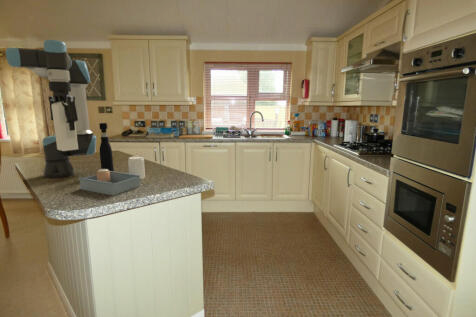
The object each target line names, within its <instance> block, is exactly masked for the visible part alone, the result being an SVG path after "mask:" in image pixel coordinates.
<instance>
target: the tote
mask: <svg viewBox="0 0 476 317" xmlns="http://www.w3.org/2000/svg"><path fill="white" fill-rule="evenodd" d="M139 177H140V175H135V174H129V172H128V173H126V172H120V171H115V170H114V171H110V182H111V183H110V182H104V181H98V180H97V175H96V174H94V175H90V176H86V177H78V180H79V187H80V188H79V190H82V191H88V192H93V193H98V194H102V195H108V196H113V197H114V196H116V195H119V194H122V193H125V192H127V191H131V190H133V189H136V188H138V187H141V182H140V180H141V179H140V178H139Z"/></svg>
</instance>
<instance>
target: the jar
mask: <svg viewBox="0 0 476 317" xmlns="http://www.w3.org/2000/svg"><path fill="white" fill-rule="evenodd" d="M95 175H97V180H98V181H104V182H110V171H108V169H101V168H100V169H97V171H96V173H95ZM110 183H111V182H110Z"/></svg>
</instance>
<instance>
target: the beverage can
mask: <svg viewBox="0 0 476 317" xmlns="http://www.w3.org/2000/svg"><path fill="white" fill-rule="evenodd" d="M127 165H128V174H135V175H140V177H139V178H140V180H143V179H145V178H146V173H145V172H146V170H145V159H144V157H143V156H141V155H137V156H130V157H128V160H127Z"/></svg>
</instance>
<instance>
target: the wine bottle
mask: <svg viewBox="0 0 476 317" xmlns="http://www.w3.org/2000/svg"><path fill="white" fill-rule="evenodd" d="M98 127H99V130H100V133H101V134H100V145H99V158H100V169H108V171H114V172H115V170H114V169H115V168H114V159H113V150H112V147H111V144H110V140H109V136H108V133H107V130H108V122H101V123H99V126H98Z"/></svg>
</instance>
